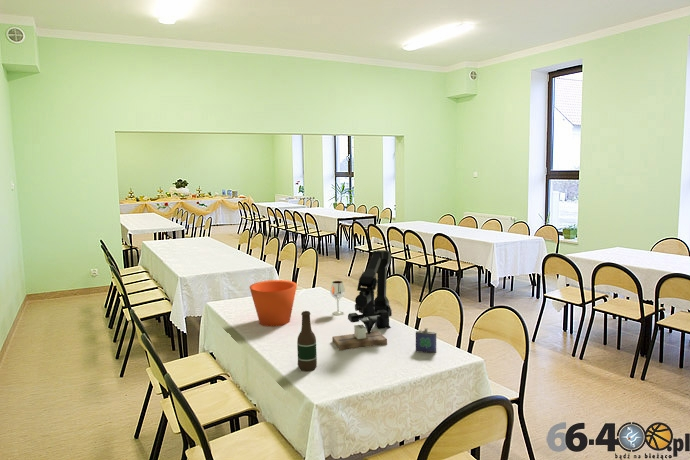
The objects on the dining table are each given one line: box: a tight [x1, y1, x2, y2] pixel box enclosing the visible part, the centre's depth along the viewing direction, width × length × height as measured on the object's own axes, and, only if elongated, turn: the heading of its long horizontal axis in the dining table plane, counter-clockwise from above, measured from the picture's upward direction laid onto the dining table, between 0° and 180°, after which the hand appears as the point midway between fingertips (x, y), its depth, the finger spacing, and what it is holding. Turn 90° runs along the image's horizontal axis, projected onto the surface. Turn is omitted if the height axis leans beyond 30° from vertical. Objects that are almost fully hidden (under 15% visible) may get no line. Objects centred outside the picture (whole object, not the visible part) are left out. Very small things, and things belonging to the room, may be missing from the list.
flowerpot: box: [249, 279, 298, 327], centre depth 272 cm, size 25×25×20 cm
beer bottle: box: [296, 310, 318, 372], centre depth 210 cm, size 8×8×24 cm
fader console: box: [331, 330, 388, 351], centre depth 239 cm, size 23×12×3 cm, turn 107°
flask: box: [415, 327, 437, 354], centre depth 226 cm, size 9×3×11 cm, turn 74°
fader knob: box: [353, 324, 367, 339], centre depth 238 cm, size 4×5×5 cm
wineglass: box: [330, 280, 346, 316], centre depth 284 cm, size 8×8×18 cm
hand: (368, 333), depth 240 cm, fingers closed
